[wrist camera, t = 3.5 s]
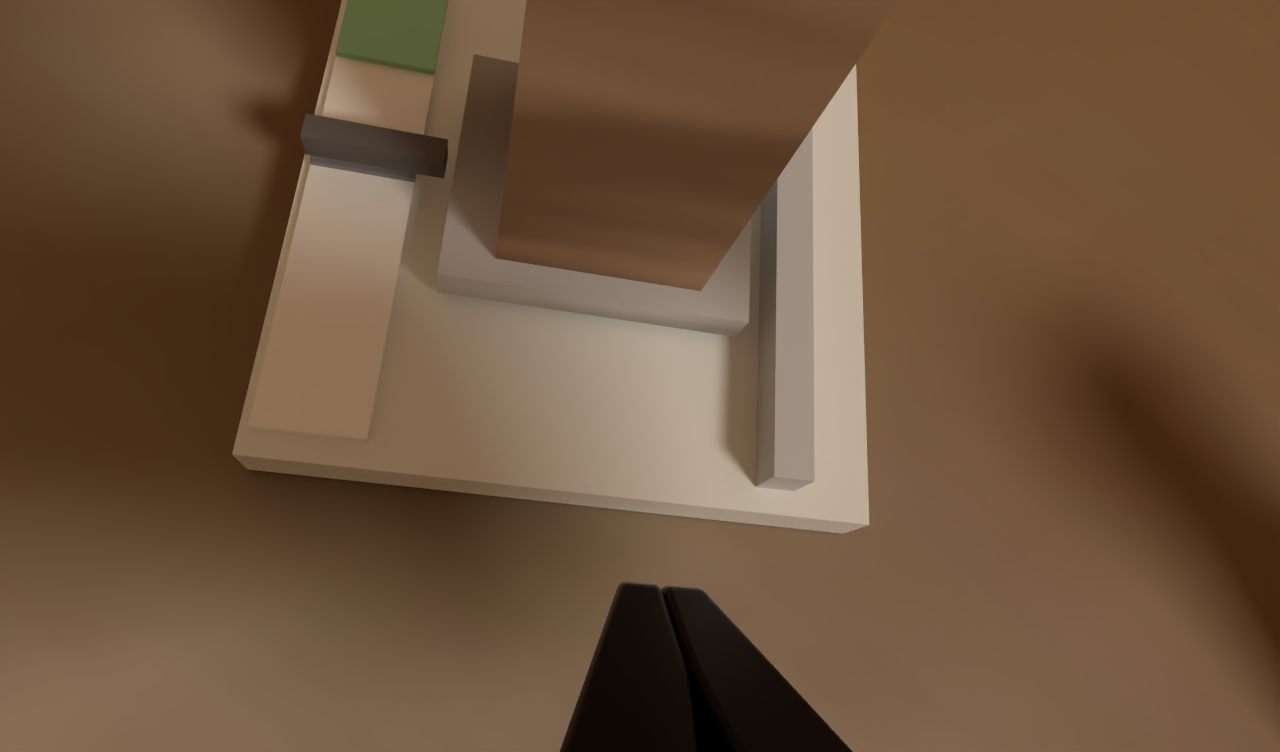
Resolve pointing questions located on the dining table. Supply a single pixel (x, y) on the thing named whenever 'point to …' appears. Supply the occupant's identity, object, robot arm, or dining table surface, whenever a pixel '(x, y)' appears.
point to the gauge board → (551, 326)
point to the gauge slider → (625, 151)
